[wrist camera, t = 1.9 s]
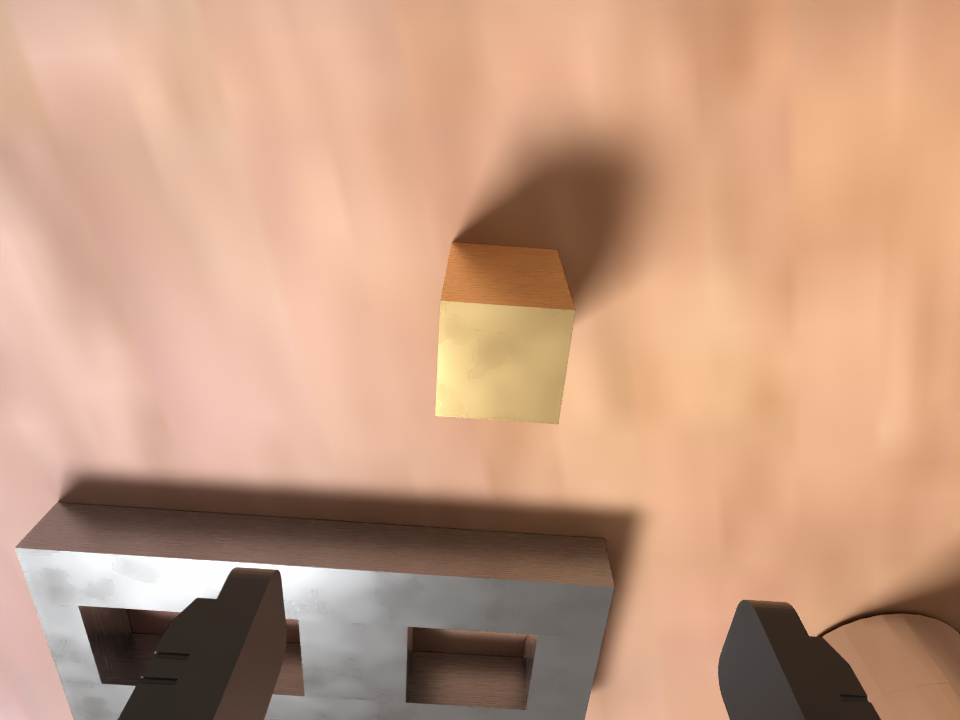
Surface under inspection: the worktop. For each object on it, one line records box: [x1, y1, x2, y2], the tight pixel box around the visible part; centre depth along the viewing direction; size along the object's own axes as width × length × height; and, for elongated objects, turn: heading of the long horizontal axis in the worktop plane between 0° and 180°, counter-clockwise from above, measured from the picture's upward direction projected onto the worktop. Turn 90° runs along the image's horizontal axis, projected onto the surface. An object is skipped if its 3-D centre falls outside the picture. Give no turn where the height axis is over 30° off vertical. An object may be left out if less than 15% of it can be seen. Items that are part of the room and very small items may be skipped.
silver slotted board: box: [15, 503, 615, 720], centre depth 32 cm, size 26×12×3 cm, turn 86°
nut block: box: [435, 242, 575, 424], centre depth 22 cm, size 4×4×6 cm
